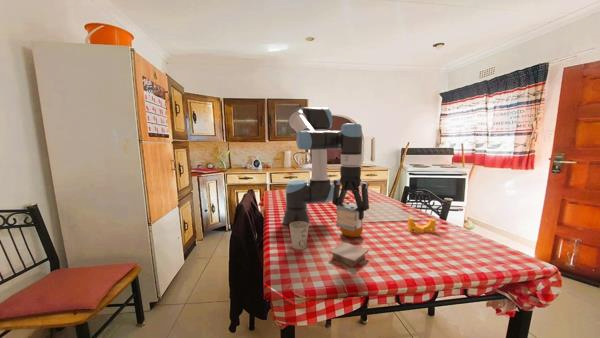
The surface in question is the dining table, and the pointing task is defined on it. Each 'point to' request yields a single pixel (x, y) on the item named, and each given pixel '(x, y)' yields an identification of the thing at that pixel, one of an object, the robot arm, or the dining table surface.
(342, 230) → the fruit
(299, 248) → the mug
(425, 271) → the dining table surface
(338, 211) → the housing
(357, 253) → the stand
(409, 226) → the pipe clamp
